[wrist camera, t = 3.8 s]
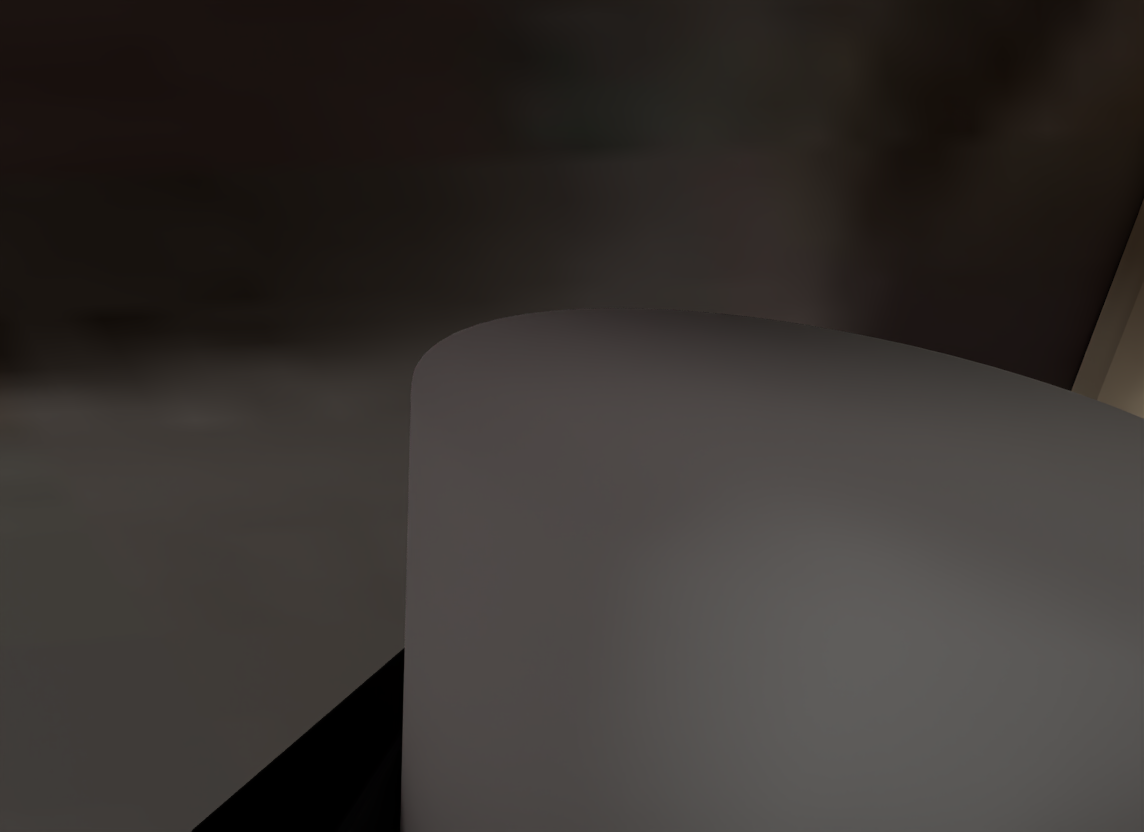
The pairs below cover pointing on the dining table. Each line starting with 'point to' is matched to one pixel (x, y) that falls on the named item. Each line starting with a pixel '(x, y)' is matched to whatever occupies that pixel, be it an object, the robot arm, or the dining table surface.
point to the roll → (764, 585)
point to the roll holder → (1119, 335)
